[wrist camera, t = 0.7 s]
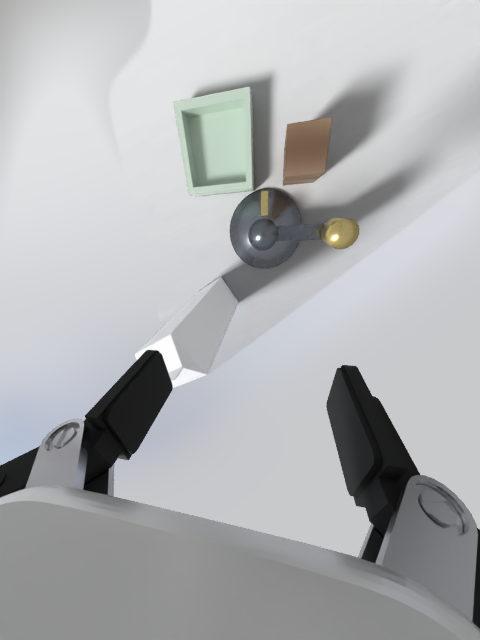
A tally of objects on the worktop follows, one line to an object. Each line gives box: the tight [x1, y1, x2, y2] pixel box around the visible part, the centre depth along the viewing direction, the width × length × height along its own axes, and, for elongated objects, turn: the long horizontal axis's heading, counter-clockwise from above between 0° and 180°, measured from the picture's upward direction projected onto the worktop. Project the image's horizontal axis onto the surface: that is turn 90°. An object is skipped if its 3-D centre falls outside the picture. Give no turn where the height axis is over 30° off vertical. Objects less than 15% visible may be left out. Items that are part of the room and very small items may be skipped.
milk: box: [135, 277, 238, 388], centre depth 26 cm, size 6×6×22 cm
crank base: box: [230, 189, 301, 268], centre depth 27 cm, size 11×11×3 cm
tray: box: [173, 86, 254, 196], centre depth 24 cm, size 9×9×2 cm
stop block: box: [283, 117, 332, 185], centre depth 21 cm, size 4×4×7 cm
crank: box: [248, 218, 359, 251], centre depth 23 cm, size 12×4×6 cm, turn 94°
